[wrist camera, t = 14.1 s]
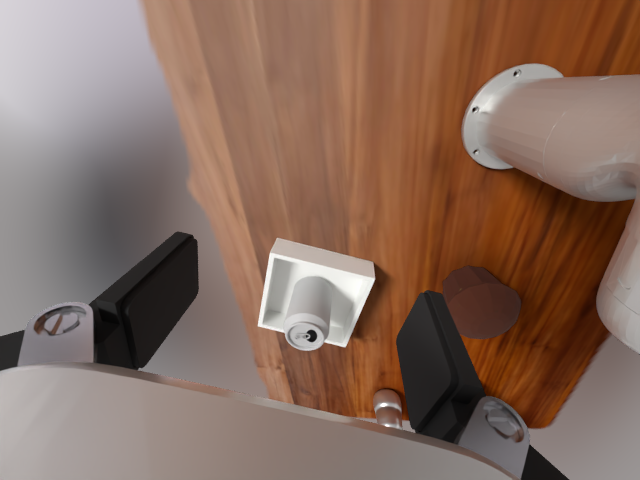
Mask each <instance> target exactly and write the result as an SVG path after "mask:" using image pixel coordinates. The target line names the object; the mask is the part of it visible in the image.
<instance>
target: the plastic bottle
mask: <svg viewBox="0 0 640 480" xmlns="http://www.w3.org/2000/svg"><path fill="white" fill-rule="evenodd" d="M373 405H374V409H375V413H376V417H377V423H378V424H380V425H385V426H389V427H393V428H397V429H401V430H403V429H402V418H401V401H400V398H399V396H398V394H397V393H396V392H394V391H393V390H389V389H382V390H379V391H377V392H376V393H375V395H374V400H373Z"/></svg>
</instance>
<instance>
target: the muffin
mask: <svg viewBox="0 0 640 480" xmlns="http://www.w3.org/2000/svg"><path fill="white" fill-rule="evenodd" d="M443 297H444V300H445V302H446V304H447V306H448V309H449V311H450V313H451V316H452V318H453V320H454V323H455V325H456V327H457V330H458V332H459V334H461V335H463V336H465V337H468V338H474V339H487V338H491V337H496V336H498V335H500V334H502V333H504V332H506V331H507V330H509V329H510V328H511V327H512V326H513V325H514V324H515V323H516V321H517V318H518V315H519V312H520V309H521V300H520V298H519V296H518V294H517V291H515V290H513V289H511V288H509V287H507V286H506V285H504V284H502V283H500V282H499V281H498V280H497V279H496V278H495V277H494V276H493V275H491V274H490V273H489V272H488V271H487V270H486V269H485V268H482V267H472V266H466V267H463V268H461V269H458V270H454V271H452V272H451V273H450V275H449V276H448V277H447V278H446V279H445V280H444V281H443Z"/></svg>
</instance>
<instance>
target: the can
mask: <svg viewBox="0 0 640 480" xmlns="http://www.w3.org/2000/svg"><path fill="white" fill-rule="evenodd" d="M331 304H332V289H331V287H330V285H329V284H328V283H327V282H326V281H325V280H323V279H321V278H319V277H315V276H307V277H304V278H301V279H300V280H298V281H297V282H296V284H295V285H294V289H293V293H292V296H291V300H290V304H289V307H288V311H287V315H286V318H285V322H284V326H283V329H284V333H285V336H286V340H287V341H288V343H289V344H290V345H292V346H293V347H295V348H297V349H300V350H306V351H310V350H315V349H317V348H319V347H321V345H322V344H323V343H324V341H325V340H326V339H327V338H328V335H329V328H330V316H331Z"/></svg>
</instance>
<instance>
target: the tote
mask: <svg viewBox="0 0 640 480" xmlns="http://www.w3.org/2000/svg"><path fill="white" fill-rule="evenodd" d="M307 276H315V277H319V278H321V279H323V280H325V281H326V282H327V283H328V284H329V285H330V287H331V289H332V304H331V316H330V328H329V335H328V338H327V339H326V340H325V341H324V342H326V343H330V344H334V345H338V346H342V347H346V345H347V343H348V340H349V338H350V336H351V334H352V331H353V329H354V327H355V324H356V322H357V320H358V317H359V315H360V313H361V311H362V308H363V306H364V304H365V301H366V299H367V297H368V295H369V292H370V290H371V288H372V285H373V283H374V281H375V272H374V265H373V262H372V261H368V260H364V259H360V258H356V257H352V256H348V255H344V254H340V253H336V252H332V251H328V250H324V249H320V248H316V247H312V246H308V245H304V244H300V243H296V242H292V241H289V240H285V239H281V238H277V239H276V241H275V243H274V245H273V248H272V250H271V252H270V256H269V262H268V268H267V274H266V280H265V286H264V292H263V298H262V304H261V310H260V316H259V322H258V326H259V327H263V328H267V329H272V330H276V331H280V332H284V329H283V326H284V322H285V318H286V315H287V311H288V307H289V304H290V300H291V296H292V293H293V289H294V285H295V284H296V282H297V281H298V280H300V279H301V278H304V277H307Z"/></svg>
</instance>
